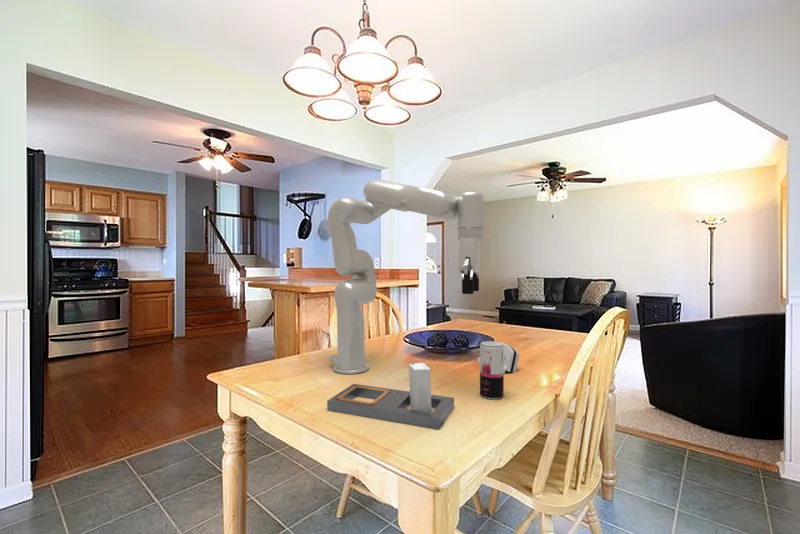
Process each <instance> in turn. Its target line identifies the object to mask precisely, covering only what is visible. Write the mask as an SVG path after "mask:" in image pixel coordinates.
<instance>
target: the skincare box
mask: <svg viewBox="0 0 800 534" xmlns="http://www.w3.org/2000/svg"><path fill="white" fill-rule="evenodd" d="M408 373H409V375H408V377H409V378H408V380H409V392H410V405H409V407H410V410H416V411H423V412H429V413H432V412H433V411H432V409H433V408H431V395H432V384H431V383H432V381H431V380H432V379H431V368H430V367H429V366H427V364H425V362H417V363H409V364H408Z"/></svg>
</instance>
